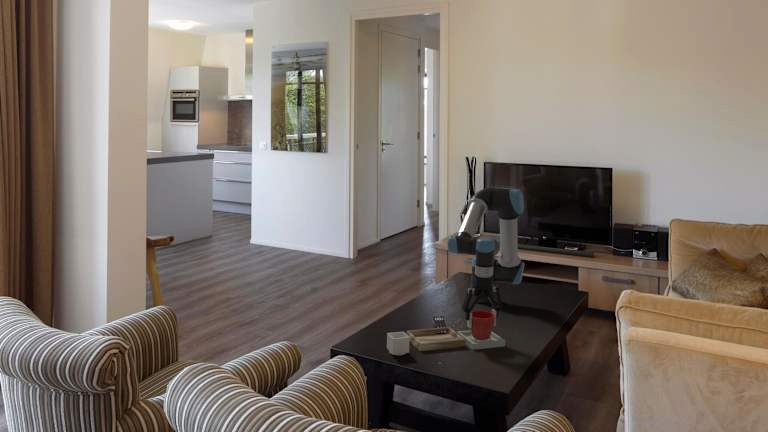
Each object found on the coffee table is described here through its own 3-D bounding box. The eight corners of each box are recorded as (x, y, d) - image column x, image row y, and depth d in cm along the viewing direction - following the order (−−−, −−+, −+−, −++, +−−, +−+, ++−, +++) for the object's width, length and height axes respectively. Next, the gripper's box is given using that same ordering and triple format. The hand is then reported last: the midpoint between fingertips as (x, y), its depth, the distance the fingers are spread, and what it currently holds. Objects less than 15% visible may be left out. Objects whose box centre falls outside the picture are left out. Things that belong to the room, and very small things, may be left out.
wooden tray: (406, 337, 254) (406, 330, 253) (448, 333, 260) (448, 327, 260) (420, 351, 239) (420, 344, 238) (464, 346, 245) (465, 339, 245)
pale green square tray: (456, 337, 256) (456, 331, 255) (487, 334, 261) (487, 328, 260) (472, 349, 242) (472, 343, 241) (504, 346, 247) (505, 340, 246)
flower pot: (465, 331, 256) (466, 310, 254) (490, 331, 257) (491, 310, 255) (471, 340, 245) (472, 318, 244) (496, 340, 246) (498, 318, 245)
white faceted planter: (386, 349, 239) (387, 333, 238) (402, 348, 242) (403, 331, 241) (392, 356, 233) (392, 339, 232) (409, 354, 235) (409, 337, 234)
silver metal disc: (466, 336, 254) (466, 334, 254) (484, 334, 257) (485, 332, 256) (475, 343, 245) (476, 341, 245) (495, 341, 248) (495, 339, 248)
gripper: (462, 279, 240) (460, 331, 243) (513, 276, 247) (510, 326, 250) (454, 274, 247) (452, 325, 250) (503, 271, 254) (501, 320, 258)
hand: (481, 326), depth 250 cm, fingers closed on flower pot, 11 cm apart
